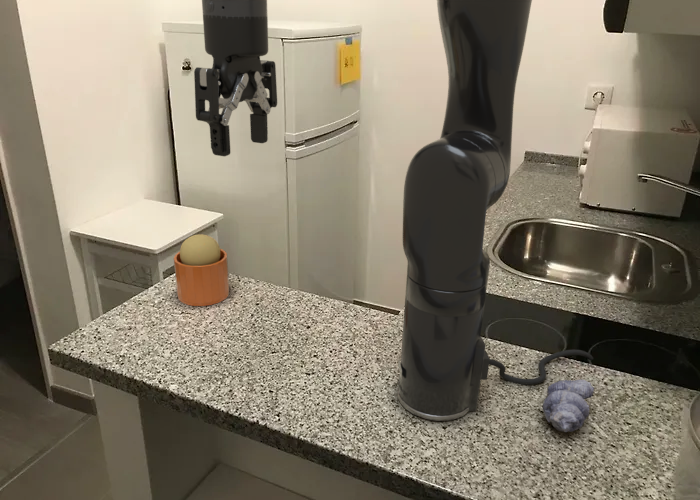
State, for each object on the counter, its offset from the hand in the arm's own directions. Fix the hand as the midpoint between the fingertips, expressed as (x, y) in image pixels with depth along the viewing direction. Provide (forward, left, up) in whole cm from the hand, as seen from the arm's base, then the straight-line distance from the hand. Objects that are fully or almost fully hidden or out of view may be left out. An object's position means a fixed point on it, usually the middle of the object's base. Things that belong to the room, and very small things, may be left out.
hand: (241, 148), depth 75 cm
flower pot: (+9, -14, -28) cm, 33 cm away
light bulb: (+9, -14, -28) cm, 32 cm away
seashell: (-39, +21, -28) cm, 53 cm away
